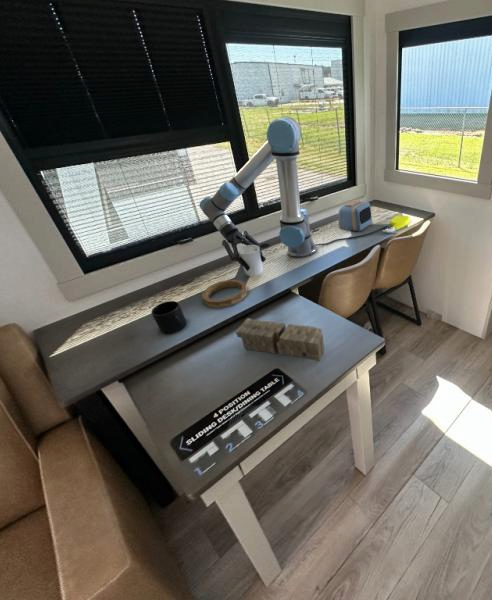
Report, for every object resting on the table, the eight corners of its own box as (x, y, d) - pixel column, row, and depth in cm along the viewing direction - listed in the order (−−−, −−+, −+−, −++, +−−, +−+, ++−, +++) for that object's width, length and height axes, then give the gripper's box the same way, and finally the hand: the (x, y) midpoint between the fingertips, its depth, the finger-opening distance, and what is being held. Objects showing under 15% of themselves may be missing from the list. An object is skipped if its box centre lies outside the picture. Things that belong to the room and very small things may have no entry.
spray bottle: (411, 220, 201) (397, 235, 184) (395, 219, 206) (380, 233, 188) (411, 216, 199) (397, 230, 182) (395, 214, 204) (380, 228, 187)
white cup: (242, 269, 155) (236, 247, 149) (262, 265, 158) (257, 243, 151) (245, 278, 148) (238, 255, 141) (266, 273, 151) (260, 250, 144)
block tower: (327, 347, 109) (252, 334, 115) (325, 328, 104) (247, 316, 111) (319, 363, 102) (240, 348, 109) (317, 344, 98) (234, 330, 104)
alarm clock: (359, 233, 190) (358, 206, 181) (337, 228, 198) (335, 203, 189) (373, 224, 201) (372, 199, 192) (351, 220, 209) (350, 196, 200)
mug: (173, 339, 116) (163, 320, 111) (156, 329, 122) (146, 311, 117) (196, 325, 122) (187, 306, 117) (178, 316, 128) (169, 298, 123)
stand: (245, 281, 149) (244, 276, 147) (248, 301, 134) (246, 295, 133) (205, 290, 144) (203, 285, 143) (204, 311, 130) (201, 305, 128)
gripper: (242, 224, 158) (270, 259, 159) (204, 239, 143) (236, 278, 144) (246, 215, 152) (276, 252, 153) (207, 230, 138) (240, 271, 139)
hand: (256, 264), depth 149 cm, fingers closed on white cup, 9 cm apart
